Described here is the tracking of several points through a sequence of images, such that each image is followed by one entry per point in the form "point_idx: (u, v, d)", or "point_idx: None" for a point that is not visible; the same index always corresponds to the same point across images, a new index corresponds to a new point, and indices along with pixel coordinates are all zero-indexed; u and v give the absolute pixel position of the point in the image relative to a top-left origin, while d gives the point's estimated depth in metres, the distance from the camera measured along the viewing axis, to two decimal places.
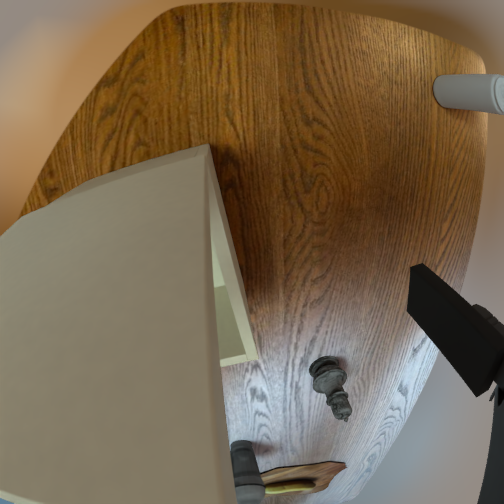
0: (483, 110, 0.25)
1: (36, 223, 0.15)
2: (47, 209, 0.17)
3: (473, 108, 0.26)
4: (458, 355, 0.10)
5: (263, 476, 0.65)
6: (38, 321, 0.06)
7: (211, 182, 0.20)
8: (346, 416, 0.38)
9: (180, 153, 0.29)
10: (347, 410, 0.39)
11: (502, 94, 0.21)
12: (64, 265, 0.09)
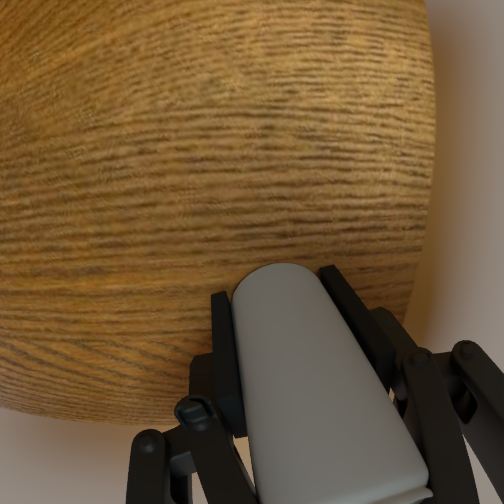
0: (252, 446, 0.08)
1: None
2: None
3: (250, 402, 0.09)
4: None
5: None
6: None
7: None
8: None
9: None
10: None
11: None
12: None
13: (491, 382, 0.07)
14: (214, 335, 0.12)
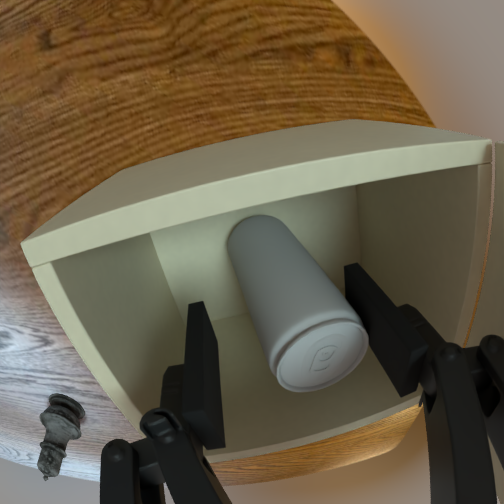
0: (255, 314, 0.15)
1: None
2: None
3: (250, 290, 0.16)
4: (384, 354, 0.11)
5: None
6: None
7: None
8: (48, 476, 0.21)
9: None
10: (55, 474, 0.21)
11: (323, 349, 0.13)
12: None
13: None
14: (187, 346, 0.12)
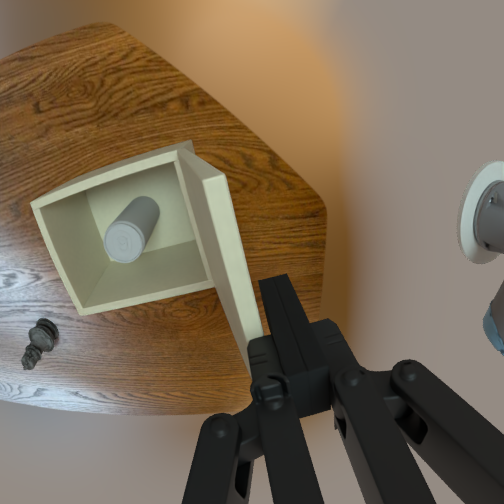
0: None
1: None
2: None
3: None
4: None
5: None
6: None
7: (204, 288, 0.33)
8: (27, 367, 0.39)
9: None
10: (31, 366, 0.40)
11: (120, 238, 0.31)
12: None
13: (440, 402, 0.07)
14: (271, 317, 0.12)
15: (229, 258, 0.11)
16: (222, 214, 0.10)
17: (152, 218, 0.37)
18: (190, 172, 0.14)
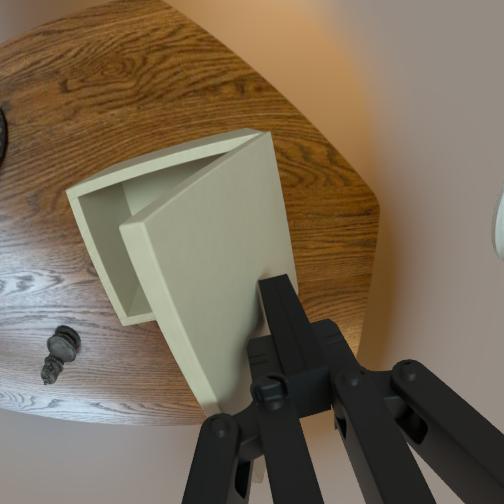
0: None
1: (272, 195, 0.21)
2: (276, 178, 0.23)
3: None
4: None
5: None
6: None
7: None
8: (47, 381, 0.36)
9: None
10: (53, 380, 0.36)
11: None
12: None
13: (440, 402, 0.07)
14: (271, 317, 0.12)
15: (163, 322, 0.08)
16: (146, 272, 0.07)
17: None
18: None
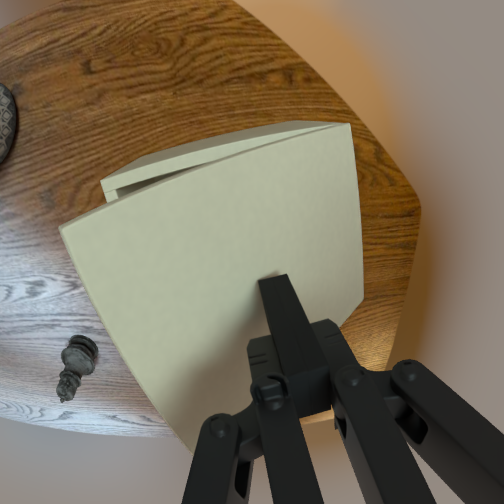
0: None
1: (330, 195, 0.19)
2: (348, 175, 0.20)
3: None
4: None
5: None
6: (237, 368, 0.16)
7: None
8: (64, 399, 0.32)
9: None
10: (71, 397, 0.33)
11: None
12: None
13: (440, 402, 0.07)
14: (270, 317, 0.12)
15: None
16: (72, 261, 0.09)
17: None
18: None
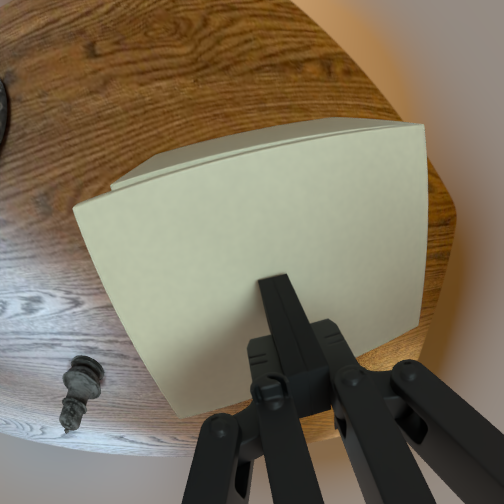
0: None
1: (380, 205, 0.16)
2: (413, 186, 0.16)
3: None
4: None
5: None
6: (228, 353, 0.17)
7: None
8: (69, 429, 0.28)
9: None
10: (76, 427, 0.28)
11: None
12: None
13: (440, 402, 0.07)
14: (270, 317, 0.12)
15: None
16: None
17: None
18: None
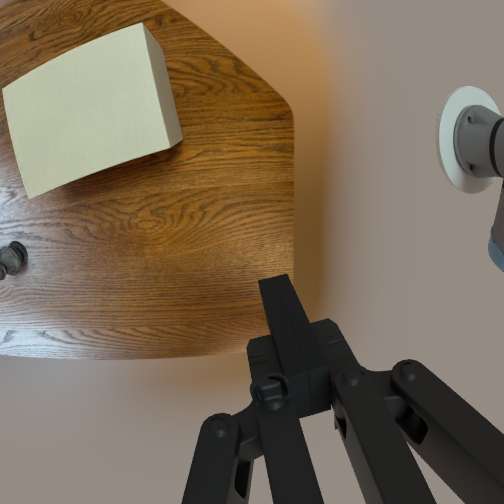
0: None
1: (112, 66, 0.25)
2: (135, 53, 0.25)
3: None
4: None
5: None
6: (46, 149, 0.27)
7: None
8: None
9: (176, 121, 0.39)
10: None
11: None
12: (66, 137, 0.27)
13: (440, 402, 0.07)
14: (270, 317, 0.12)
15: None
16: None
17: None
18: None
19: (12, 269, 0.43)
